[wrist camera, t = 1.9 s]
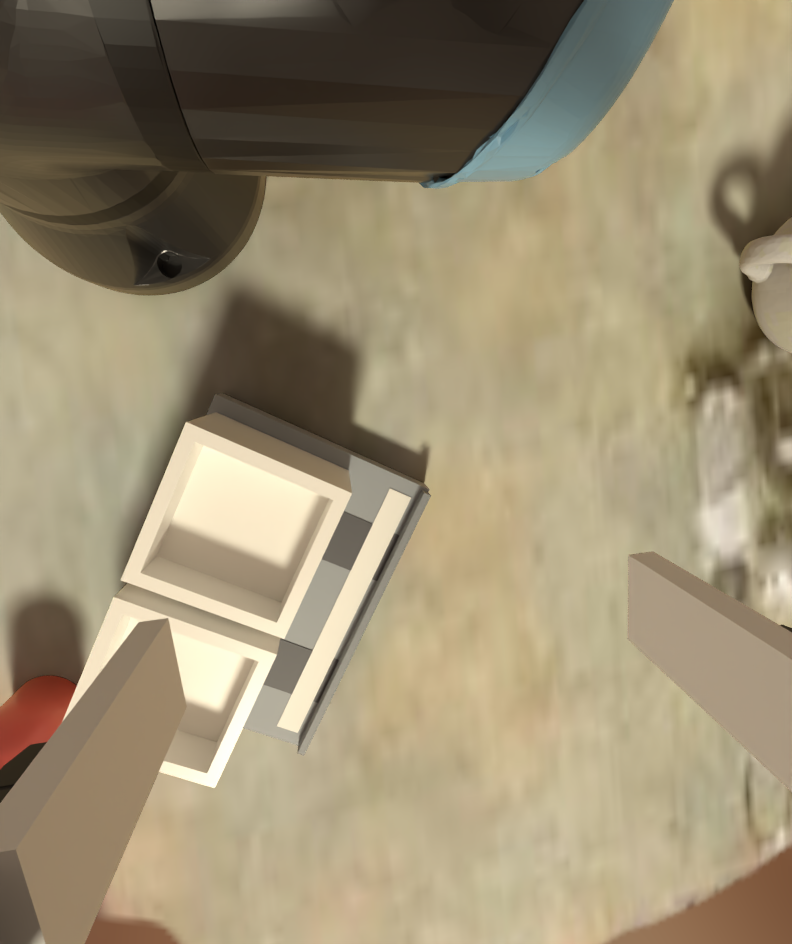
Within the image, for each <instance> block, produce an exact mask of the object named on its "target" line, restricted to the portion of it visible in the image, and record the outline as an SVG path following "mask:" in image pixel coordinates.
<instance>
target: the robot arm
mask: <svg viewBox="0 0 792 944" xmlns="http://www.w3.org/2000/svg"><path fill="white" fill-rule="evenodd" d="M673 1H674V0H0V213H1V214H2V215H3V216H4V218H5V219H6V220H7V222H8V223H9V224H10V225H11V226H12V228H13V229H14V230H15V231H16V232H17V233H18V234H19V235H20V236H21V237H22V238H23V239H24V241H26V242H27V243H28V244H29V245H30V246H31V247H32V248H33V249H35V250H36V251H37V252H38V253H40V254H41V255H42V256H43V257H45V258H46V259H48V260H49V261H50V262H52V263H53V264H55V265H56V266H58V267H60V268H61V269H63V270H65V271H67V272H68V273H70V274H72V275H74V276H76V277H79V278H81V279H84V280H86V281H89V282H91V283H94V284H96V285H99V286H102V287H105V288H107V289H111V290H114V291H118V292H123V293H128V294H135V295H164V294H170V293H176V292H180V291H184V290H187V289H190V288H192V287H195V286H197V285H199V284H202V283H204V282H205V281H207V280H209V279H211V278H212V277H214V276H215V275H217V274H218V273H219V272H221V271H222V270H223V269H225V268H226V267H227V266H228V265H229V264H230V263H231V262H232V261H233V260H234V259H235V258H236V257H237V255H238V254H239V253H240V252H241V250H242V249H243V248H244V246H245V245H246V243H247V242H248V240H249V238H250V236H251V234H252V233H253V230H254V228H255V226H256V224H257V221H258V218H259V215H260V212H261V208H262V204H263V199H264V192H265V181H266V176H276V177H299V178H323V179H346V180H370V181H394V182H417V183H419V184H421V185H422V186H423V187H424V188H435V189H439V188H445V187H449V186H451V185H453V184H456V183H458V182H479V181H517V180H522V179H526V178H529V177H532V176H535V175H537V174H539V173H541V172H542V171H544V170H545V169H546V168H547V167H549V166H550V165H551V164H553V163H555V162H557V161H558V160H559V159H561V158H564V157H566V156H567V155H568V154H570V153H571V152H572V151H573V150H574V149H575V148H576V147H577V146H578V145H579V144H580V143H581V142H582V141H583V140H584V139H585V138H586V137H587V136H588V135H589V134H590V133H591V132H592V131H593V129H594V128H595V127H596V126H597V125H598V124H599V122H600V121H601V120H602V119H603V118H604V116H605V115H606V114H607V112H608V111H609V110H610V108H611V107H612V106H613V104H614V103H615V102H616V100H617V99H618V97H619V96H620V94H621V93H622V92H623V90H624V89H625V87H626V86H627V84H628V82H629V81H630V79H631V78H632V76H633V75H634V73H635V71H636V70H637V68H638V66H639V65H640V63H641V61H642V59H643V58H644V56H645V54H646V52H647V51H648V49H649V47H650V45H651V44H652V42H653V40H654V38H655V36H656V34H657V32H658V30H659V29H660V27H661V25H662V23H663V21H664V19H665V17H666V15H667V13H668V11H669V9H670V7H671V5H672V3H673ZM628 640H629V641H630V642H631V643H632V644H633V645H635V646H636V647H637V648H638V649H639V650H640V651H641V652H642V653H643V654H644V655H645V656H646V657H647V658H648V659H650V660H651V661H652V662H653V663H654V664H655V665H656V666H657V667H658V668H659V669H660V670H661V671H662V672H664V673H665V674H666V675H667V676H668V677H669V678H670V679H671V680H672V681H673V682H674V683H675V684H676V685H677V686H679V687H680V688H681V689H682V690H683V691H684V692H685V693H686V694H687V695H688V696H689V697H690V698H691V699H693V700H694V701H695V702H696V703H697V704H698V705H699V706H700V707H701V708H702V709H703V710H704V711H705V712H706V713H708V714H709V715H710V716H711V717H712V718H713V719H714V720H715V721H716V722H717V723H718V724H719V725H720V726H721V727H723V728H724V729H725V730H726V731H727V732H728V733H729V734H730V735H731V736H732V737H733V738H734V739H735V740H737V741H738V742H739V743H740V744H741V745H742V746H743V747H744V748H745V749H746V750H747V751H748V752H749V753H750V754H752V755H753V756H754V757H755V758H756V759H757V760H758V761H759V762H760V763H761V764H762V765H763V766H764V767H766V768H767V769H768V770H769V771H770V772H771V773H772V774H773V775H774V776H775V777H776V778H777V779H778V780H779V781H781V782H782V783H783V784H784V785H785V786H786V787H787V788H788V789H789V790H790V791H791V792H792V628H790V627H787V626H784V625H778V624H777V623H775V622H773V621H771V620H770V619H768V618H766V617H765V616H763V615H761V614H759V613H758V612H756V611H754V610H753V609H751V608H749V607H747V606H746V605H744V604H742V603H741V602H739V601H737V600H735V599H734V598H732V597H730V596H729V595H727V594H725V593H723V592H722V591H720V590H718V589H716V588H715V587H713V586H711V585H710V584H708V583H706V582H704V581H703V580H701V579H699V578H698V577H696V576H694V575H692V574H691V573H689V572H687V571H686V570H684V569H682V568H680V567H679V566H677V565H675V564H674V563H672V562H670V561H668V560H667V559H665V558H663V557H662V556H660V555H658V554H656V553H655V552H646V553H638V554H631V555H629V559H628ZM186 708H187V706H186V701H185V696H184V691H183V686H182V682H181V677H180V672H179V667H178V662H177V657H176V653H175V648H174V643H173V638H172V633H171V629H170V624H169V619H168V618H164V619H157V620H150V621H143V622H138V624H137V625H136V626H135V628H134V629H133V630H132V631H131V633H130V634H129V635H128V637H127V638H126V639H125V641H124V642H123V643H122V645H121V646H120V647H119V649H118V650H117V651H116V652H115V654H114V655H113V656H112V658H111V659H110V660H109V662H108V663H107V664H106V666H105V667H104V668H103V669H102V671H101V672H100V673H99V675H98V676H97V677H96V679H95V680H94V681H93V683H92V684H91V685H90V686H89V688H88V689H87V690H86V692H85V693H84V694H83V696H82V697H81V698H80V700H79V701H78V702H77V703H76V705H75V706H74V707H73V709H72V710H71V711H70V713H69V714H68V715H67V717H66V718H65V719H64V720H63V722H62V723H61V724H60V726H59V727H58V728H57V730H56V731H55V732H54V734H53V735H52V736H51V738H50V739H49V740H48V741H47V742H43V743H37V744H31V745H29V746H28V747H27V748H25V749H24V750H23V751H22V752H20V753H19V754H18V755H17V756H15V757H14V758H13V759H11V760H10V761H9V762H8V763H6V764H5V765H4V766H3V767H2V768H1V769H0V944H85V941H86V939H87V937H88V934H89V932H90V930H91V927H92V925H93V923H94V921H95V918H96V916H97V914H98V911H99V909H100V907H101V904H102V902H103V900H104V897H105V895H106V893H107V891H108V888H109V886H110V884H111V881H112V879H113V877H114V874H115V872H116V870H117V867H118V865H119V863H120V860H121V858H122V856H123V854H124V851H125V849H126V847H127V844H128V842H129V840H130V837H131V835H132V833H133V830H134V828H135V826H136V823H137V821H138V819H139V817H140V814H141V812H142V810H143V807H144V805H145V803H146V800H147V798H148V796H149V793H150V791H151V789H152V786H153V784H154V782H155V780H156V777H157V775H158V773H159V770H160V768H161V766H162V763H163V761H164V759H165V756H166V754H167V752H168V749H169V747H170V745H171V743H172V740H173V738H174V736H175V733H176V731H177V729H178V726H179V724H180V722H181V719H182V717H183V715H184V712H185V710H186Z"/></svg>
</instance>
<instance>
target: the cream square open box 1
mask: <svg viewBox="0 0 792 944" xmlns="http://www.w3.org/2000/svg"><path fill="white" fill-rule="evenodd" d="M351 495H352V489H351V482H350V475H349V470H347V469H344V468H342V467H340V466H338V465H335V464H333V463H331V462H328V461H326V460H324V459H322V458H319V457H317V456H315V455H313V454H310V453H308V452H306V451H303V450H301V449H299V448H297V447H294V446H292V445H290V444H287V443H285V442H283V441H281V440H278V439H276V438H274V437H272V436H269V435H267V434H265V433H262V432H260V431H258V430H256V429H253V428H251V427H249V426H246V425H244V424H242V423H240V422H237V421H235V420H233V419H230V418H228V417H226V416H224V415H221V414H219V413H217V412H216V413H212V414H209V415H206V416H203V417H200V418H197V419H193V420H190V421H187V422H186V423H185V425H184V428H183V430H182V433H181V435H180V438H179V440H178V442H177V445H176V447H175V450H174V452H173V455H172V457H171V459H170V462H169V464H168V467H167V469H166V471H165V474H164V476H163V479H162V481H161V484H160V486H159V488H158V491H157V493H156V496H155V498H154V501H153V503H152V505H151V508H150V510H149V513H148V515H147V518H146V520H145V522H144V525H143V527H142V530H141V532H140V534H139V537H138V539H137V542H136V544H135V547H134V549H133V551H132V554H131V556H130V559H129V561H128V564H127V566H126V568H125V571H124V573H123V576H122V578H121V581H124V582H127V583H130V584H132V585H135V586H138V587H141V588H144V589H146V590H149V591H152V592H155V593H157V594H160V595H163V596H166V597H169V598H171V599H174V600H177V601H180V602H182V603H185V604H188V605H191V606H194V607H196V608H199V609H202V610H205V611H207V612H210V613H213V614H216V615H219V616H221V617H224V618H227V619H230V620H232V621H235V622H238V623H241V624H244V625H246V626H249V627H252V628H255V629H257V630H260V631H263V632H266V633H269V634H271V635H274V636H277V637H280V638H282V639H285V636H286V634H287V632H288V630H289V628H290V626H291V624H292V621H293V619H294V617H295V615H296V613H297V611H298V609H299V606H300V604H301V602H302V600H303V598H304V596H305V593H306V591H307V589H308V587H309V585H310V583H311V581H312V578H313V576H314V574H315V572H316V570H317V568H318V566H319V563H320V561H321V559H322V557H323V555H324V553H325V551H326V548H327V546H328V544H329V542H330V540H331V538H332V536H333V533H334V531H335V529H336V527H337V525H338V523H339V521H340V518H341V516H342V514H343V512H344V510H345V508H346V506H347V503H348V501H349V499H350V497H351Z"/></svg>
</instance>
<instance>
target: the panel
mask: <svg viewBox="0 0 792 944" xmlns="http://www.w3.org/2000/svg"><path fill="white" fill-rule="evenodd" d="M216 412H217V413H219V414H221V415H224V416H226V417H228V418H230V419H233V420H235V421H237V422H240V423H242V424H244V425H246V426H249V427H251V428H253V429H256V430H258V431H260V432H262V433H265V434H267V435H269V436H272V437H274V438H276V439H278V440H281V441H283V442H285V443H287V444H290V445H292V446H294V447H297V448H299V449H301V450H303V451H306V452H308V453H310V454H313V455H315V456H317V457H319V458H322V459H324V460H326V461H328V462H331V463H333V464H335V465H338V466H340V467H342V468H344V469H347V470H349V475H350V482H351V489H352V495H351V497H350V499H349V501H348V503H347V506H346V508H345V510H344V512H343V514H342V516H341V518H340V521H339V523H338V525H337V527H336V529H335V531H334V533H333V536H332V538H331V540H330V542H329V544H328V546H327V548H326V551H325V553H324V555H323V557H322V559H321V561H320V563H319V566H318V568H317V570H316V572H315V574H314V576H313V578H312V581H311V583H310V585H309V587H308V589H307V591H306V593H305V596H304V598H303V600H302V602H301V604H300V606H299V609H298V611H297V613H296V615H295V617H294V619H293V621H292V624H291V626H290V628H289V630H288V632H287V634H286V636H285V639H282V638H280V642H279V647H278V652H277V656H276V658H275V660H274V662H273V664H272V666H271V669H270V671H269V673H268V675H267V677H266V679H265V681H264V684H263V686H262V688H261V690H260V692H259V694H258V696H257V699H256V701H255V703H254V705H253V707H252V709H251V711H250V714H249V716H248V718H247V720H246V722H245V724H244V726H243V728H244V729H247V730H250V731H253V732H256V733H260V734H263V735H266V736H269V737H272V738H275V739H278V740H282V741H285V742H288V743H291V744H294V745H297V746H298V754H301V755H305V753H306V751H307V749H308V747H309V745H310V742H311V740H312V738H313V736H314V734H315V732H316V730H317V728H318V726H319V724H320V722H321V720H322V718H323V716H324V714H325V712H326V710H327V708H328V706H329V704H330V701H331V699H332V697H333V695H334V693H335V691H336V689H337V687H338V685H339V683H340V681H341V679H342V677H343V675H344V673H345V671H346V669H347V667H348V665H349V663H350V660H351V658H352V656H353V654H354V652H355V650H356V648H357V646H358V644H359V642H360V640H361V638H362V636H363V634H364V632H365V630H366V628H367V626H368V624H369V622H370V620H371V617H372V615H373V613H374V611H375V609H376V607H377V605H378V603H379V601H380V599H381V597H382V595H383V593H384V591H385V589H386V587H387V585H388V583H389V581H390V579H391V576H392V574H393V572H394V570H395V568H396V566H397V564H398V562H399V560H400V558H401V556H402V554H403V552H404V550H405V548H406V546H407V544H408V542H409V540H410V538H411V535H412V533H413V531H414V529H415V527H416V525H417V523H418V521H419V519H420V517H421V515H422V513H423V511H424V509H425V507H426V505H427V503H428V501H429V499H430V497H431V495H430V494H429V493H428V491H429V488H428V487H427V486H426V485H425V484H424V483H422V482H420V481H418V480H416V479H414V478H411V477H409V476H407V475H405V474H402V473H400V472H398V471H396V470H393V469H391V468H389V467H387V466H384V465H382V464H380V463H378V462H376V461H373V460H371V459H369V458H367V457H364V456H362V455H360V454H358V453H355V452H353V451H351V450H349V449H346V448H344V447H342V446H340V445H338V444H335V443H333V442H331V441H329V440H326V439H324V438H322V437H320V436H317V435H315V434H313V433H311V432H308V431H306V430H304V429H302V428H300V427H297V426H295V425H293V424H291V423H288V422H286V421H284V420H282V419H279V418H277V417H275V416H273V415H270V414H268V413H266V412H264V411H262V410H259V409H257V408H255V407H253V406H250V405H248V404H246V403H244V402H241V401H239V400H237V399H235V398H232V397H230V396H228V395H226V394H224V393H218V394H215V395H214V398H213V400H212V402H211V405H210V407H209V410H208V412H207V414H206V415H209V414H212V413H216Z"/></svg>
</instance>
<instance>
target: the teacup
mask: <svg viewBox="0 0 792 944" xmlns="http://www.w3.org/2000/svg"><path fill="white" fill-rule="evenodd" d="M739 266H740V269H741V271H742V272H743V273H744V274H746V275H747V276H748V278H749V279H750V280H752V281H753V282H752V305H753V311H754V315H755V318H756V320H757V323H758V325H759V327H760V328H761V330H762V331H763V333H764V334H765V335H766V336H767V338H768V339H769V340H770V341H771V342H773V343H774V344H775V345H777V346H778V347H779V348H781V349H783V350H785V351H787V352H790V353H792V217H791V218H790V219H788V220H787V221H786V222H785V223H784V224H783V225H782V226H781V227H780V228H779V229H778V230H777V231H776V233H775V234H774V235H771V236H766V237H761V238H758V239H755V240H753V241H751V242H749V243H748V244H747V245H746V246H745V248H744V249H743V251H742V254H741V257H740V264H739Z"/></svg>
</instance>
